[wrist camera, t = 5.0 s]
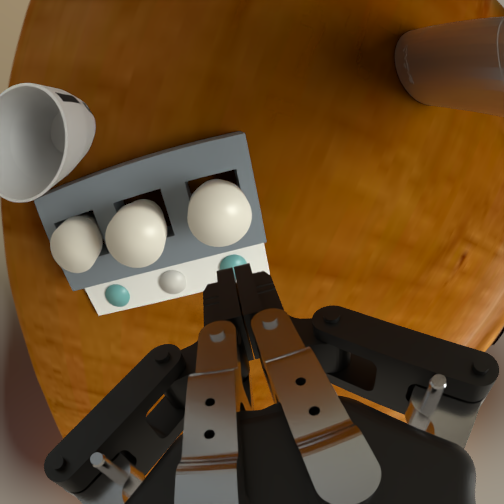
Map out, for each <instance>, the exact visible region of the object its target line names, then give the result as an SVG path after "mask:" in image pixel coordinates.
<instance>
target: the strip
mask: <svg viewBox="0 0 504 504" xmlns="http://www.w3.org/2000/svg"><path fill="white" fill-rule="evenodd" d="M247 263H250V267H251V270H252V273H257V272H261V271H265V272H266V273H267V274H269V275H270V272H269V267H268V262H267V257H266V252H265V247H264V243H261V244H257V245H253V246H249V247H245V248H241V249H237V250H233V251H229V252H225V253H221V254H217V255H213V256H209V257H205V258H201V259H197V260H193V261H189V262H185V263H181V264H177V265H173V266H169V267H165V268H161V269H158V270H154V271H150V272H146V273H142V274H138V275H134V276H130V277H126V278H122V279H118V280H115V281H111V282H107V283H103V284H99V285H95V286H91V287H87V288H85V290H86V292H87V294H88V296H89V298H90V300H91V302H92V304H93V306H94V308H95V310H96V311H97V313H98V315H104V314H108V313H113V312H117V311H122V310H126V309H131V308H135V307H139V306H144V305H148V304H152V303H157V302H161V301H165V300H169V299H174V298H178V297H182V296H186V295H190V294H195V293H199V292H203V291H204V290H205V288H206V286H207V284H211V283H215V282H217V271H218V270H222V269H227V268H231V267H232V268H233V271H234V267H235V266H239V265H243V264H247ZM234 275H235V271H234ZM235 279H236V277H235Z"/></svg>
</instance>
